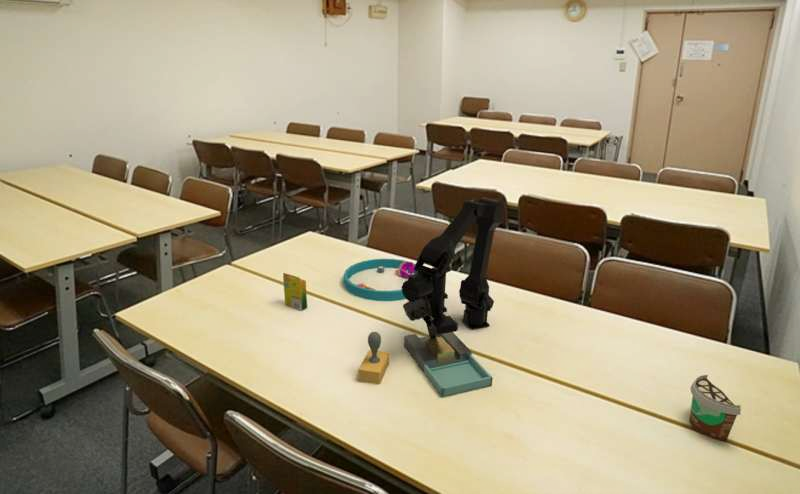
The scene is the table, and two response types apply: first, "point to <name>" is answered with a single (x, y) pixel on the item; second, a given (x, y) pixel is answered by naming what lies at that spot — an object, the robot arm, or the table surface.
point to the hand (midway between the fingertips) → (432, 339)
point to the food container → (711, 410)
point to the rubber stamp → (374, 361)
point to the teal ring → (380, 265)
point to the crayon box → (295, 292)
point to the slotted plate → (425, 357)
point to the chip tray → (458, 377)
